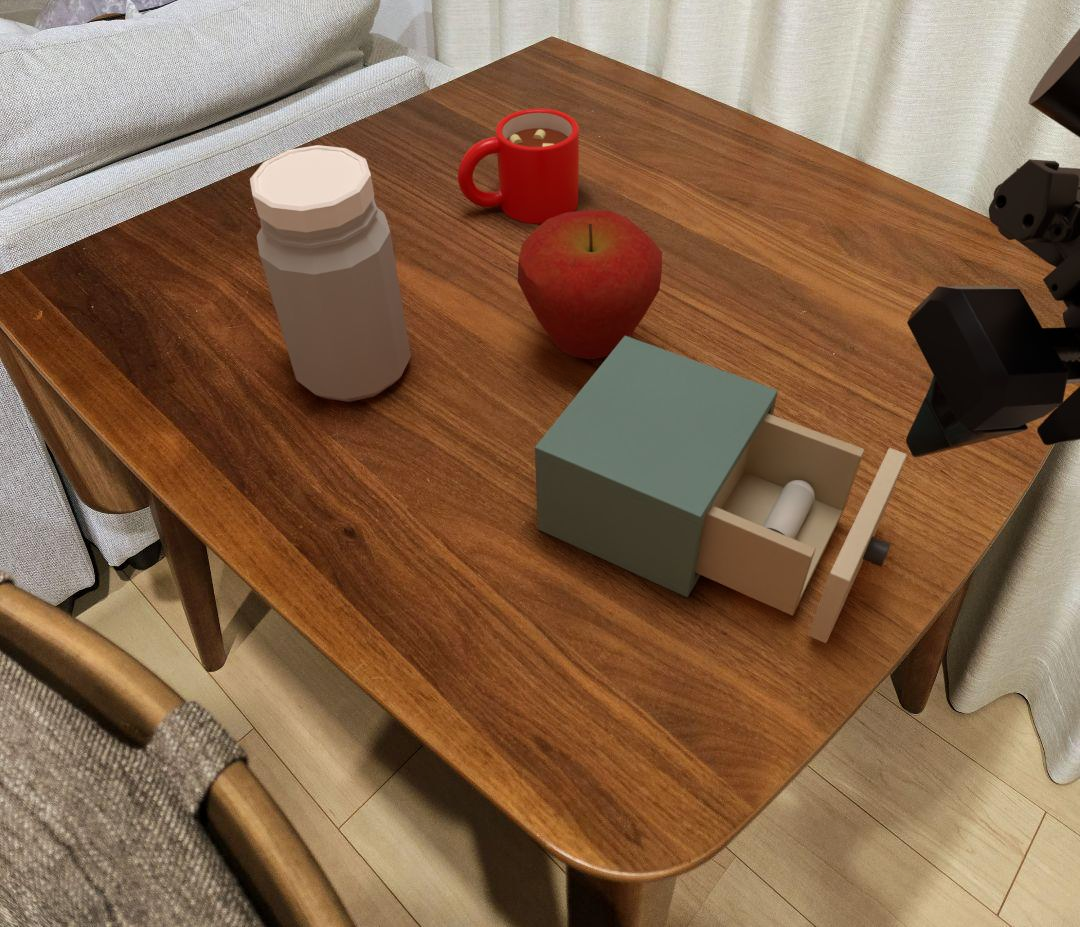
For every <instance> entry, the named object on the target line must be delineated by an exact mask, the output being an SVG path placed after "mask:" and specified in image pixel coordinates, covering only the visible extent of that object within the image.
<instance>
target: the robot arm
mask: <svg viewBox="0 0 1080 927" xmlns="http://www.w3.org/2000/svg"><path fill="white" fill-rule="evenodd" d="M1027 104H1028V105H1030V106H1031V107H1033V108H1034V109H1035V110H1037V111H1039V112H1040V113H1042V114H1043V115H1044V116H1046V117H1047V118H1049V119H1051V120H1052V121H1054V122H1056V123H1057V124H1058V125H1060V127H1063V128H1064V129H1066V130H1068V131H1069V132H1070V133H1072V134H1074V135H1075V136H1076V137H1078V138H1079V139H1080V28H1078V30H1077V31H1076V32H1075V33H1074V34H1073V36H1072V37H1071V39H1070V40H1068V42H1067V43H1066V45H1065V46H1064V47H1063V48H1062V50H1061V51H1060V52H1059V54H1058V55H1057V56H1056V58H1055V59H1054V60H1053V61H1052V63H1051V64H1050V66H1049V67H1048V69H1046V71H1045V73H1044V74H1043V76H1042V77H1041V79H1040V80H1039V82H1038V83H1037V84H1036V86H1035V88H1034V89H1033V91H1032V93H1031V95H1030V96H1029V99H1028V103H1027ZM988 217H989V221H990V223H991V224H993V225H995V226H996V227H997V230H998V233H999V234H1000V235H1001V236H1003V237H1004V238H1005V239H1006V240H1009V241H1013V240H1015V241H1016V242H1017V243H1020V244H1021V245H1022V246H1024V247H1025V248H1027V249H1028V250H1029V251H1030V252H1032V253H1033V254H1034V255H1036V256H1037V257H1039V258H1040V259H1042V260H1043V261H1044V262H1046V263H1047V264H1049V265H1051V266H1053V267H1055V268H1054V269H1053V270H1052V271H1050V272H1049V273H1048V274H1047V275H1045V277H1044V278H1043V279H1042V281H1043V283H1044V284H1045V287H1046V288H1047V289H1048V291H1049V293H1050V295H1051V296H1052V298H1053V299H1054V301H1057V302H1058V301H1059V302H1062V301H1063V303H1064V305H1065V307H1066V309H1064V311H1063V312H1062V320H1063V324H1064V327H1043V326H1042V324H1041V323H1040V321H1039V319H1038V317H1037V316H1036V314H1035V313H1034V311H1033V309H1032V307H1031V306H1030V304H1029V302H1028V300H1027V299H1026V297H1025V295H1024V294H1023V292H1022V290H1021V289H1020V288H1016V287H1008V286H1002V285H1001V286H1000V285H937V286H936V287H935V288H934V289H933V290H932V291H931V292H930V293H929V294H928V295H927V296H926V297H925V298H924V299H923V300H922V302H920V303H919V304H918V305H917V306H916V307H915V308H914V309H913V311H911V313H910V315H909V318H908V319H907V322H906V324H907V326H908V328H909V330H910V331H911V333H912V336H913V338H914V340H915V341H916V343H917V345H918V347H919V349H920V351H921V353H922V355H923V357H924V359H925V361H926V363H927V365H928V367H929V369H930V371H931V373H932V375H933V376H932V379H931V381H930V384H929V387H928V390H927V392H926V395H925V397H924V398H923V401H922V402H921V406H920V407H919V410H918V412H917V413H916V415H915V418H914V420H913V423H912V424H911V426H910V429H909V431H908V433H907V435H906V438H905V443H906V445H907V447H908V449H909V452H910V454H911V455H912V457H913V458H922V457H925V456H930V455H934V454H938V453H942V452H947V451H951V450H955V449H958V448H962V447H966V446H970V445H974V444H978V443H982V442H985V441H989V440H990V441H991V440H995V439H998V438H1002V437H1006V436H1010V435H1014V434H1017V433H1022V432H1025V431H1027V430H1028V429H1029V427H1028V425H1027V424H1030V423H1031V422H1034V421H1037V420H1039V419H1042V418H1044V417H1046V416H1047V415H1048V414H1049V415H1048V416H1047V417H1046V418H1045V419H1044V420H1043V421H1042V422H1041V423H1040V424H1039V426H1038V427H1037V429H1036V431H1037V434H1038V436H1039V438H1040V440H1041V442H1042V443H1043V444H1044V445H1045V446H1054V445H1058V444H1059V445H1060V444H1063V443H1069V442H1075V441H1080V386H1078V387H1077V388H1076V389H1075V390H1074V391H1073V392H1072V393H1071V394H1070V395H1069V396H1067V398H1066V399H1065V393H1066V388H1067V384H1080V168H1079V167H1078V168H1077V167H1064V166H1063V167H1062V166H1061V167H1060V163H1059V162H1057V161H1056V160H1046V159H1045V160H1044V159H1028V160H1027V161H1026V162H1024V163H1023V164H1022V165H1021V166H1020V167H1017V168H1016V169H1015V171H1014V172H1013V173H1011V174H1010V175H1008V177H1007V178H1006V179H1004V181H1002V182H1001V183H999V184H998V185H997V186H996V187H995V189H994V191H993V199H992V200H991V203H990V204H989V207H988Z"/></svg>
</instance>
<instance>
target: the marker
mask: <svg viewBox="0 0 1080 927" xmlns="http://www.w3.org/2000/svg"><path fill="white" fill-rule="evenodd" d="M814 499H815V494H814V490H813V488H812V487H811V485H810V484H808V483H807V482H805V481H802V480H794V481H791V482H789V483H788V484H786V485H785V487H784V488H783V490H782V492H781V493H780V495H779V497H778V499H777V501H776V502H775V504H774V506H773V508H772V510H771V511H770V513H769V515H768V517H767V519H766V520H765V522H764V524H763V527H766V528H768V529H770V530H773V531H775V532H778V533H780V534H782V535H785V536H787V537H790V538H792V539H795V537H796V535H797V533H798V531H799V529H800V528H801V526H802V524H803V522H804V520H805V518H806V516H807V514H808V512H809V510H810V508H811V506H812V505H813V502H814Z"/></svg>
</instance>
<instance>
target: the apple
mask: <svg viewBox="0 0 1080 927" xmlns="http://www.w3.org/2000/svg"><path fill="white" fill-rule="evenodd" d="M517 263H518V265H517V284H518V285H519V288H520V289H521V291H522V294H523V295H524V297H525V300H526V302H527V303H528V306H529V307H530V310H531V311H532V312H533V314H534V316H535V317H536V319H537V321H538V323H539V324H540V325H541V327H542V328H543V330H544V331H545V333H546V334H547V335H548V337H549V339H550V340H551V342H552V344H554V345H555V346H556V347H557V348H558V349H559V350H560V351H562V352H563V353H564V354H567V355H570V356H572V357H574V358H578V359H585V360H597V359H602V358H607V357H608V356H609V355H610V353H611V352H612V351H613V350H614V348H615V347H616V346H617V345H618V343H619V342H620V341H621V340H622V339H623V337H624V336H628V337H630V338H631V336H632V334H633V333H634V331H635V330H636V329H637V328H638V326H639V324H640V323H641V322H642V320H643V319H644V317H645V316H646V314H647V313H648V310H649V309H650V307H651V305H653V304H652V303H653V302H654V300H655V299H656V297H657V296H658V294H659V292H660V288H661V280H662V274H663V251H662V250H661V249H660V247H659V246H658V245H657V243H656V242H655V241H654V240H653V238H652V237H651V236H649V235H648V234H647V233H646V232H645V231H644V230H643V229H642V228H641V227H639V226H638V225H637V224H635V223H634V222H633V221H631V219H629V218H628V217H626V216H624V215H621V214H618V213H615V212H613V211H611V210H607V209H606V210H605V209H604V210H603V209H601V210H600V209H584V210H574V211H573V212H567V213H563V214H560V215H558V216H555V217H552V218H550V219H547V220H546V221H545V222H544V223H540V224H539V225H538V227H536V228H535V230H534V231H532V232H531V233H530V234H529V236H528V237H526V239H525V240H524V241H523V242H522V244H521V248H520V252H519V256H518V262H517Z"/></svg>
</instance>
